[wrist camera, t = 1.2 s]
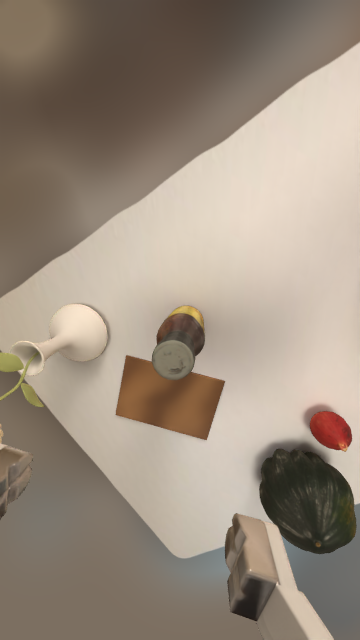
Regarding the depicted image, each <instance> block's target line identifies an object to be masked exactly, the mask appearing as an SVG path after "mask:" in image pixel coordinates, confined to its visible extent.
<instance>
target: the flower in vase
mask: <svg viewBox="0 0 360 640" xmlns="http://www.w3.org/2000/svg"><path fill="white" fill-rule="evenodd" d="M49 333H50V338H51V339H50V340H48V341H45V342H41V343H31V342H29V341H19V342H16V343H15V344H14V345H13V346H12V347H11V349H10V354H9V353H0V370H1V371H3V372H13V371H19V372H20V373H22V376H21V378H20V380H19V382H18V384H17V385H16V386H15V387H14V388H13V389H12V390H10V391H9V392H8V393H6V394H5V395H4V396H2V397H0V401H1V400H2V399H4V398H5V397H6V396H8V395H9V394H11V393H12V392H13V391H15V390H16V389H17V388H18V387H19V386H20V385H21V388H22V390H23V393H24V395H25V398H26V399H27V400H28V402H29V403H31V404H32V405H34V406H37V407H44V405H42V403H41V402H40V401H39V399H38V398H37V396H36V393H35V391H34V389H33V388H32V387H31V386H30V385H27V384H25V383H22V381H23V379H24V377H25V375H27V376H34V375H37V374H39V373H40V372H41V371H42V369H43V368H44V364H45V361H46V360H47V359H48V358H49V357H50V356H51V355H53V354H54V353H56V352H59V353H61V354H62V355H63V356H64V357H66V358H68V359H70V360H73V361H80V362H81V361H89V360H92V359H95V358H96V357H98V356H99V355H100V354H101V353H102V352H103V351H104V349H105V347H106V344H107V329H106V326H105V324H104V322H103V320H102V318H101V317H100V316H99V315H98V314H97V313H96V312H95V311H94V310H93V309H91V308H89V307H87V306H85V305H81V304H69V305H66V306H64V307H62V308H60V309H59V310H58V311H57V312H56V313H55V314H54V316H53V317H52V319H51V322H50V327H49ZM0 428H1V424H0ZM2 436H3V432H2V430H1V429H0V444H1V442H2V441H1V437H2Z"/></svg>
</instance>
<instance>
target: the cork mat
mask: <svg viewBox="0 0 360 640" xmlns="http://www.w3.org/2000/svg"><path fill="white" fill-rule="evenodd" d="M224 383H225V381H223V380H219V379H215V378H211V377H207V376H204V375H200V374H196V373H192V372H190V373H189V374H188V375H187V376H186V377H184V378H182V379H179V380H168V379H166V378H163V377H162V376H160V375H159V374H158V373H157V372H156V370H155V369H154V367H153V364H152V362H150V361H146V360H143V359H139V358H135V357H131V356H126V360H125V365H124V371H123V377H122V382H121V388H120V393H119V399H118V404H117V410H116V415H118V416H122V417H125V418H129V419H132V420H136V421H140V422H143V423H147V424H150V425H154V426H158V427H161V428H165V429H168V430H172V431H176V432H179V433H183V434H186V435H190V436H194V437H197V438H201V439H204V440H207V437H208V434H209V430H210V427H211V424H212V421H213V418H214V415H215V411H216V408H217V405H218V402H219V399H220V396H221V392H222V389H223V386H224Z"/></svg>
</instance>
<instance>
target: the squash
mask: <svg viewBox="0 0 360 640" xmlns="http://www.w3.org/2000/svg"><path fill="white" fill-rule="evenodd" d="M261 474H262V482H261V484H260V488H259V491H260V499H261V503H262V505H263V508H264V510H265V512H266V514H267V515H268V517H269V518H270V520H271V521H272V522H273V523H274V524H275V525H277V527H278V529H279V531H280V533H281V535H282V536H283V537H284V538H285V539H286V540H287V541H289V542H290V543H291V544H293V545H294V546H297V547H298V548H300V549H302V550H305V551H310V552H313V553H316V554H324V553H331V552H333V551H335V550H336V549H338V548H340V547H342V546H345V545H346V544H348V543H349V542H350V541H351V540H352V539H353V538H354V536H355V533H356V517H355V513H354V498H353V494H352V490H351V488H350V485H349V484H348V482H347V481H346V479H345V478H344V477H343V476H342V474H341V473H340V472H339V471H338V470H337V469H335V468H334V467H333V466H331V465H329V464H327V463H325V462H324V461H323V459H322V458H321V457H320V456H319V455H317V454H315V453H313V452H305V453H303V452H302V451H301V450H293V451H292V452H291V453H289V452H287V451H285V450H283V449H277V450H275V452H274V454H273V457H272V458H267V459H266V460H265V462H264V463H263V465H262V468H261Z"/></svg>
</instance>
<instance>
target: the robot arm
mask: <svg viewBox="0 0 360 640" xmlns="http://www.w3.org/2000/svg"><path fill="white" fill-rule="evenodd" d="M32 461H33V454H32V453H28V452H25V451H22V450H19V449H16V448H13V447H10V446H7V445H4V444H0V519H1V518H2V517H3V516H4V514H5V513H6V510H7V505H8V504H9V503H11V502H12V501H14V500H16V499H18V497H19V496H20V495H21V494H22V492H23V491H24V490H25V488H26V486H27V484H28V483H29V481H30V478H31V475H32V468H31V467H30V465H29V464H30V463H31V462H32ZM232 524H233V526H232V527H230V528H229V529H228V531H227V534H226V541H225V559H226V564H227V566H228V568H229V570H230V572H231V574H230V576H229V578H228V581H227V582H228V593H229V605H230V612H232V613H235V614H237V615H240V616H243V617H246V618H249V619H252V620H254V621H257V623H256V624H257V626H258V629H259V631H260V634H261V636H262V638H263V640H334V639H333V637H332V635H331V634H330V633H329V631H328V630H327V628H326V627H325V625H324V624H323V622H322V621H321V619H320V618H319V616H318V615H317V613H316V612H315V610H314V609H313V607H312V606H311V604H310V603H309V601H308V600H307V598H306V597H305V595H304V594H303V592H300V591H298V589H297V586H296V583H295V579H294V576H293V573H292V570H291V566H290V563H289V560H288V557H287V554H286V550H285V547H284V544H283V541H282V537H281V534H280V531H279V529H278V527H277V525H275V524H271V523H268V522H264V521H261V520H259V519H255V518H252V517H248V516H244V515H241V514H237V513H236V514H235V515H234V516H233V519H232Z"/></svg>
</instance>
